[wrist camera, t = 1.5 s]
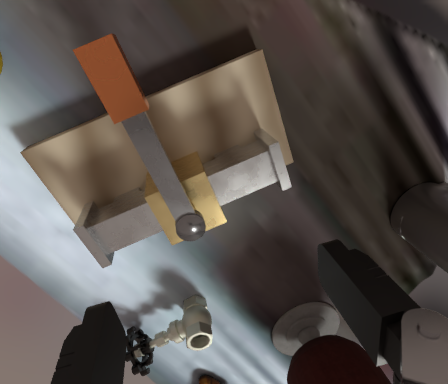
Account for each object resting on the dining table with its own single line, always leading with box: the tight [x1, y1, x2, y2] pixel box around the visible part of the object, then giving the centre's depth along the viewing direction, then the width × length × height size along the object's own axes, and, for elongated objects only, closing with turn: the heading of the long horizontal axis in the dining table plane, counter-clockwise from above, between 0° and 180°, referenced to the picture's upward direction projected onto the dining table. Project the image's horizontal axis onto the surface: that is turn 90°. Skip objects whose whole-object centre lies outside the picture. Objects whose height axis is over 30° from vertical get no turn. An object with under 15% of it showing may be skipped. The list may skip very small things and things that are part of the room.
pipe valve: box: [73, 128, 292, 268], centre depth 31 cm, size 21×6×8 cm, turn 110°
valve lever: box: [73, 34, 206, 241], centre depth 23 cm, size 17×3×2 cm, turn 20°
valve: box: [125, 295, 212, 376], centre depth 43 cm, size 7×7×12 cm
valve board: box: [20, 49, 293, 224], centre depth 34 cm, size 26×13×2 cm, turn 110°
